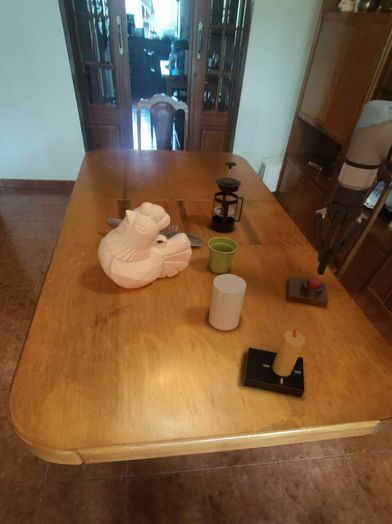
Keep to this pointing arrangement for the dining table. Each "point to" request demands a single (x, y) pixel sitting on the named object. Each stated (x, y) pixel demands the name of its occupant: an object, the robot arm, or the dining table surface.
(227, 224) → the french press
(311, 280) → the button
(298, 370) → the dimmer
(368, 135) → the robot arm
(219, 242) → the plant pot
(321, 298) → the switch block
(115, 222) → the spaceship
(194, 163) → the dining table surface
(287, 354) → the dimmer knob
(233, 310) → the cup
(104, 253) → the decorative rooster
